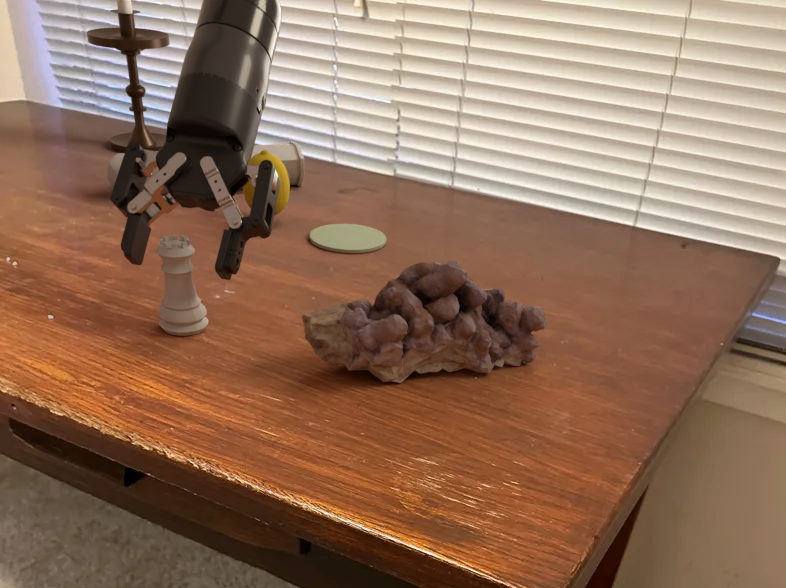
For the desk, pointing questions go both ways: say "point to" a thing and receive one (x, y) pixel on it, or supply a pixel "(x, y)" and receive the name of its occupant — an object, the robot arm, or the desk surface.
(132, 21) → the candlestick
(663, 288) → the desk surface
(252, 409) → the desk surface
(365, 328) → the mineral specimen
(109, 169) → the tube
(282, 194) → the lemon
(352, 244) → the coaster
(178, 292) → the rook chess piece
